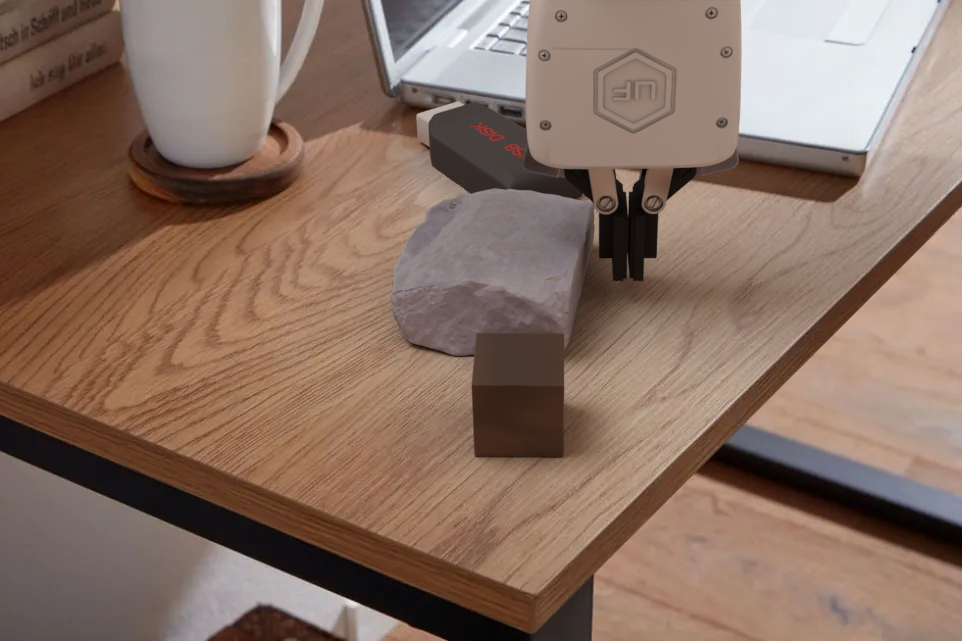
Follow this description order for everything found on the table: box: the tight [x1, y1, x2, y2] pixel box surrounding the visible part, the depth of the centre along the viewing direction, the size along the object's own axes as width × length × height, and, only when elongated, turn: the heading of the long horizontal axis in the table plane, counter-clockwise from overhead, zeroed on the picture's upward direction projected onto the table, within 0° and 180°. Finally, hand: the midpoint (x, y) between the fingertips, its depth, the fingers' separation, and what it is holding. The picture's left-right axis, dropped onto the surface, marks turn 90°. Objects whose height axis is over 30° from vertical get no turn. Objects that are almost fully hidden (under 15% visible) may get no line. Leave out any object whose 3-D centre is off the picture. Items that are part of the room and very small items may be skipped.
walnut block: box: [471, 333, 565, 458], centre depth 60 cm, size 4×4×4 cm
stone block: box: [390, 188, 596, 357], centre depth 70 cm, size 12×5×10 cm
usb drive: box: [415, 100, 584, 199], centre depth 82 cm, size 5×12×3 cm, turn 34°
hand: (626, 267), depth 70 cm, fingers closed
